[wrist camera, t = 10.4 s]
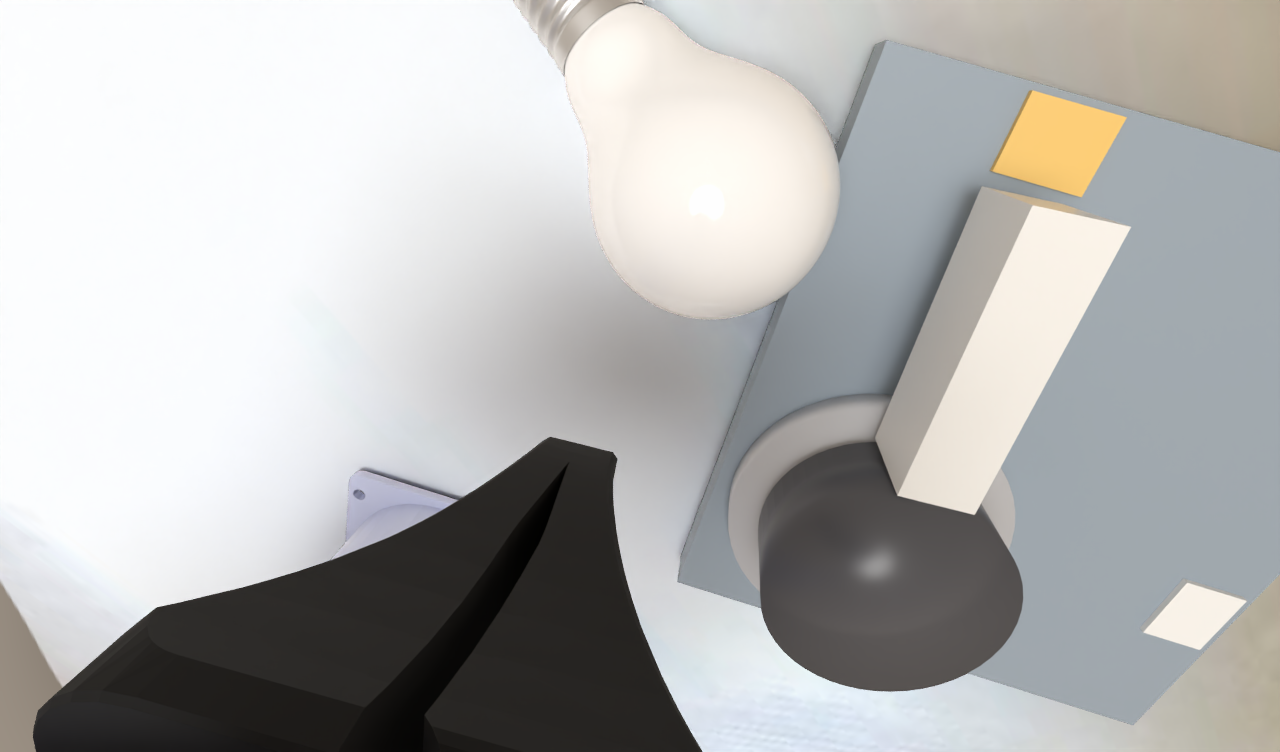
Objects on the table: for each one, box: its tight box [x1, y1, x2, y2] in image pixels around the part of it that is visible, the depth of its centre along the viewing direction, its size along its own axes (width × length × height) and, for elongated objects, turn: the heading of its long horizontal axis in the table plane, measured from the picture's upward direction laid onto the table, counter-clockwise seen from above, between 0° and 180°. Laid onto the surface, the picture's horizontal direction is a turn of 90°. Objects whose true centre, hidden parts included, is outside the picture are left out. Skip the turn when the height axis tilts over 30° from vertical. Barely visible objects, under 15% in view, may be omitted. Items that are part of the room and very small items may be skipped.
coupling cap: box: [758, 186, 1131, 691], centre depth 17 cm, size 14×7×3 cm, turn 169°
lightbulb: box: [513, 0, 840, 320], centre depth 16 cm, size 6×6×11 cm
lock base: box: [677, 40, 1280, 725], centre depth 20 cm, size 19×18×2 cm
